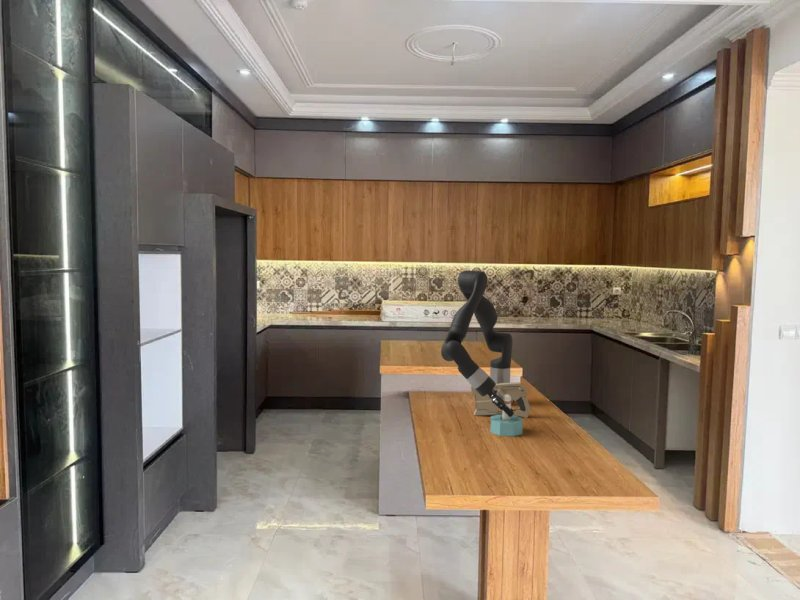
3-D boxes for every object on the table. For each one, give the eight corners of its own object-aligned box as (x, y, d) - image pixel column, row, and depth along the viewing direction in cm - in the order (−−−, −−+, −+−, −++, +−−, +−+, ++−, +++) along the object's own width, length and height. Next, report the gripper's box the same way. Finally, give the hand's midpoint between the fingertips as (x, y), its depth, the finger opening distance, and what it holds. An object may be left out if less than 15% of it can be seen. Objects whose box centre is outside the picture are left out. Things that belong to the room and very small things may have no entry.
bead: (490, 426, 229) (490, 413, 228) (521, 427, 227) (521, 415, 226) (490, 435, 217) (490, 422, 216) (522, 437, 215) (523, 424, 214)
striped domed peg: (501, 424, 223) (502, 393, 222) (510, 425, 223) (511, 393, 222) (501, 427, 220) (502, 395, 219) (510, 427, 220) (511, 395, 219)
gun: (530, 415, 244) (528, 381, 243) (531, 418, 241) (529, 383, 240) (473, 418, 247) (470, 384, 246) (473, 420, 243) (471, 386, 242)
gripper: (487, 378, 214) (520, 412, 213) (488, 371, 228) (518, 403, 227) (473, 392, 216) (505, 425, 214) (474, 384, 229) (504, 415, 228)
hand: (511, 413), depth 221 cm, fingers closed on striped domed peg, 3 cm apart
